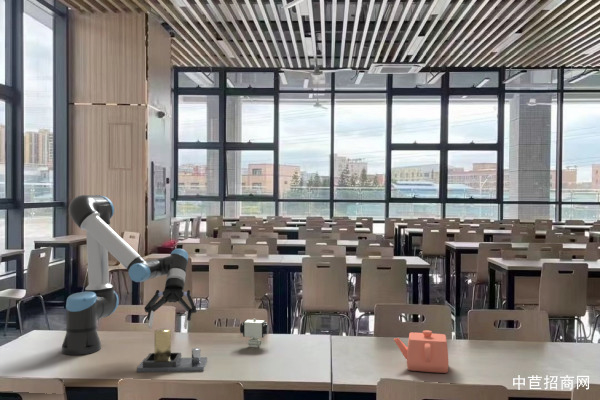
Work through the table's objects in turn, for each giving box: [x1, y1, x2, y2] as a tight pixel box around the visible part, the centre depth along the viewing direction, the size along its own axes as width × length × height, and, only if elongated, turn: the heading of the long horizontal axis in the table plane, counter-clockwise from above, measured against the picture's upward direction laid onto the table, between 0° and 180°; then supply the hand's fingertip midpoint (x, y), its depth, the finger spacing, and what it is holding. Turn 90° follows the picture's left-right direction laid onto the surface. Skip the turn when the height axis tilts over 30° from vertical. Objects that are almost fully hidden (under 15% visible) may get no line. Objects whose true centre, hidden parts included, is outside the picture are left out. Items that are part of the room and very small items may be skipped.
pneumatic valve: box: [239, 318, 270, 349], centre depth 230 cm, size 6×12×12 cm, turn 80°
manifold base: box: [136, 347, 208, 373], centre depth 202 cm, size 24×12×6 cm, turn 93°
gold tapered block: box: [153, 328, 172, 361], centre depth 202 cm, size 6×6×12 cm
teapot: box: [393, 329, 449, 374], centre depth 201 cm, size 20×22×14 cm
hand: (167, 327), depth 208 cm, fingers open, 13 cm apart
